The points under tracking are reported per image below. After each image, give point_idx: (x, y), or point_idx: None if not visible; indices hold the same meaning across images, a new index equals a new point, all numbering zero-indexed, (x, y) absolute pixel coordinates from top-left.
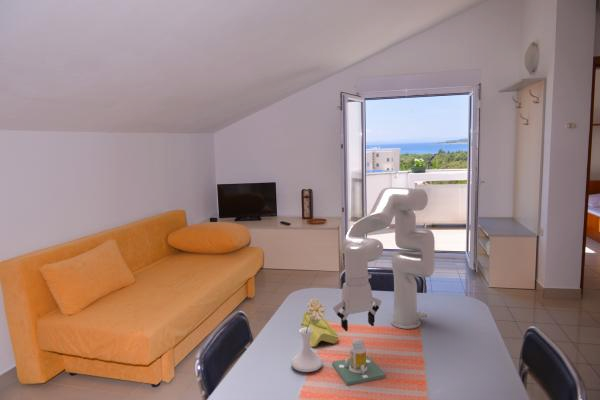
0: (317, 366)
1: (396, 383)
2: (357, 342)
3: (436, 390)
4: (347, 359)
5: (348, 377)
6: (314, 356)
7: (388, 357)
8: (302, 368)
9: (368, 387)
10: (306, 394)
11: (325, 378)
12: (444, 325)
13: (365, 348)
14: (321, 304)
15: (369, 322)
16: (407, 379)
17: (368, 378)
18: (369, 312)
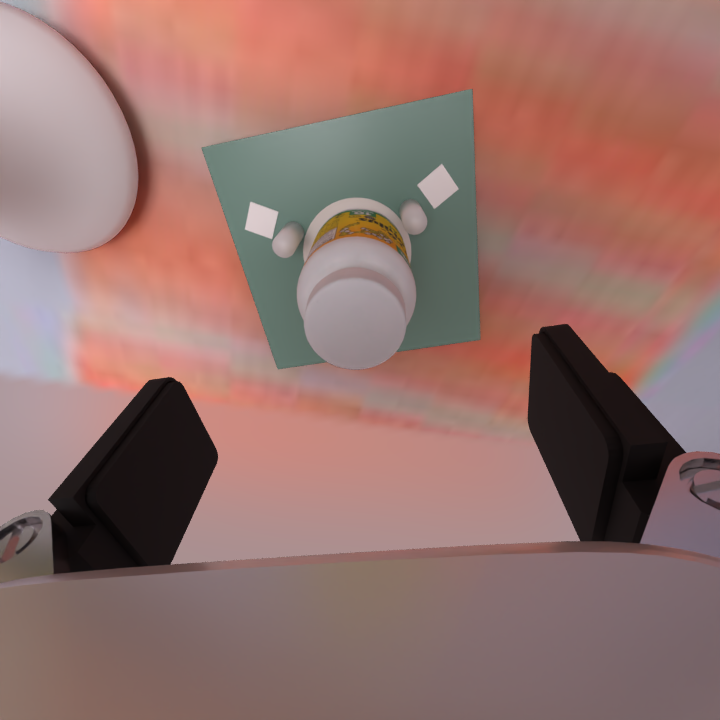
0: (105, 234)
1: (502, 377)
2: (346, 338)
3: None
4: (288, 255)
5: (289, 334)
6: (45, 190)
7: (613, 105)
8: (16, 243)
9: (372, 384)
10: (107, 388)
11: (177, 288)
12: None
13: (411, 313)
14: None
15: (537, 380)
16: None
17: None
18: (626, 505)
